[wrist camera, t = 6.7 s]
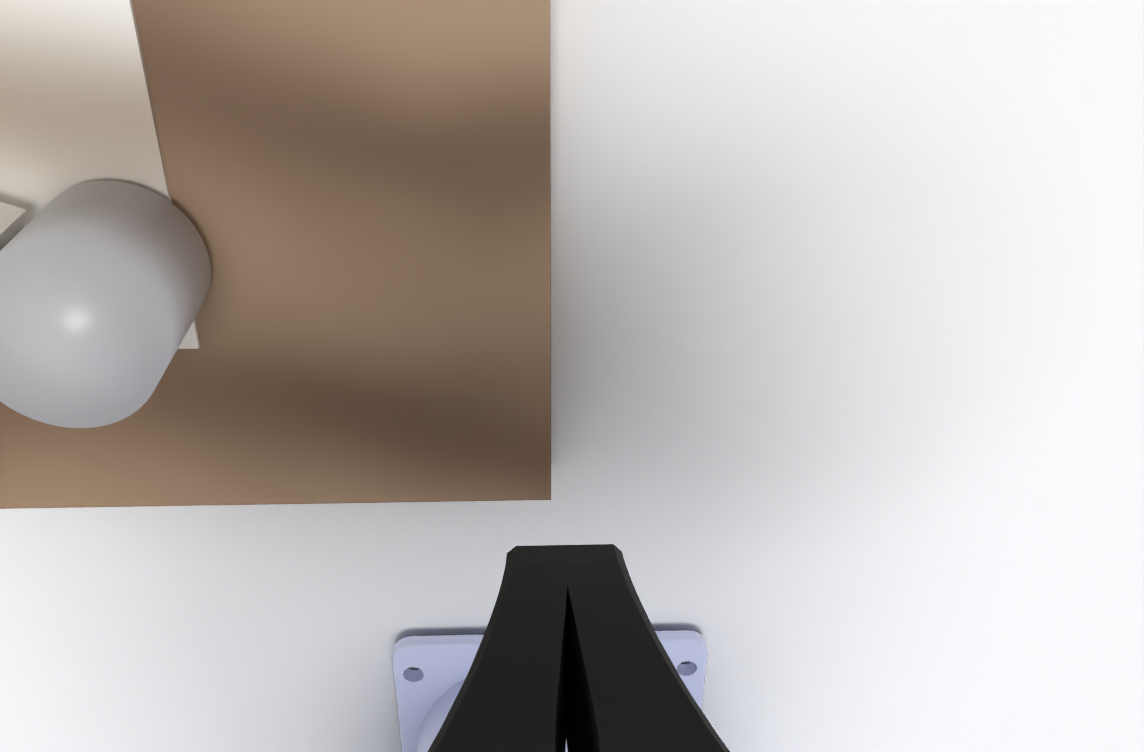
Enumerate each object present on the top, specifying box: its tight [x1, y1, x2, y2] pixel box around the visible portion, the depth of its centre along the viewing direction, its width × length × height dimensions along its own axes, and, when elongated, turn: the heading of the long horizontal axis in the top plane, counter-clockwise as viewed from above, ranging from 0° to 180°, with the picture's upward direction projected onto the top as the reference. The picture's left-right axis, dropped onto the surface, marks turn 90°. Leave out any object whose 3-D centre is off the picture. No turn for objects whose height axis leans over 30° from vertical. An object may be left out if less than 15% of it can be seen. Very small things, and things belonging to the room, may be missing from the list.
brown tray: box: [0, 0, 551, 509], centre depth 19 cm, size 18×18×1 cm
